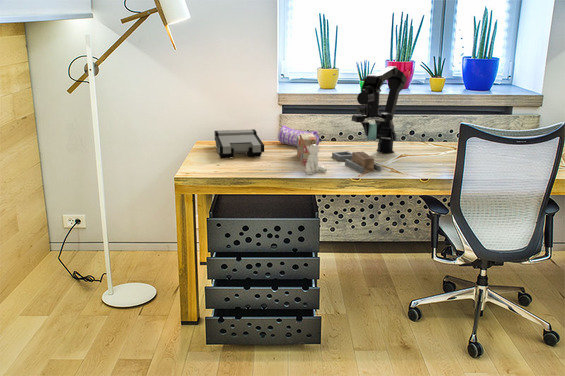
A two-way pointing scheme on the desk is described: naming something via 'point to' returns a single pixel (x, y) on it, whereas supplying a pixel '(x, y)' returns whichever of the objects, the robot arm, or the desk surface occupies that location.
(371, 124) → the nose cylinder
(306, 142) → the stack of blocks
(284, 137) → the pencil case
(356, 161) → the block
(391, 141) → the robot arm
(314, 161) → the sitting furry creature
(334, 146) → the desk surface
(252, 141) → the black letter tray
